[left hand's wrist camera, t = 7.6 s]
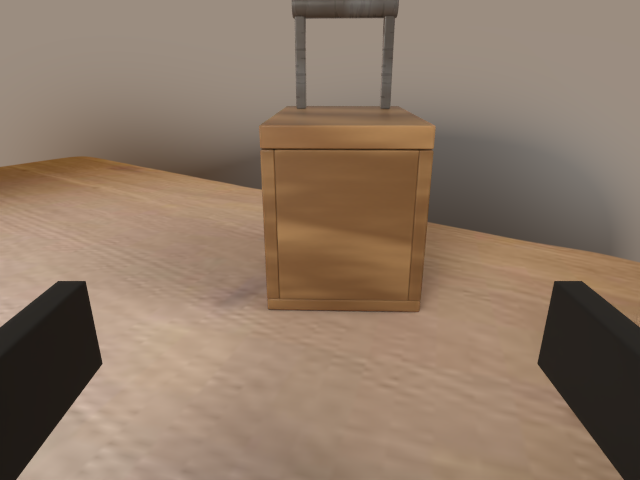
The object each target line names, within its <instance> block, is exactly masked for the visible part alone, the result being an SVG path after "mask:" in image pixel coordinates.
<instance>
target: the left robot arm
mask: <svg viewBox="0 0 640 480" xmlns="http://www.w3.org/2000/svg"><path fill="white" fill-rule="evenodd" d="M101 365H102V359H101V354H100V349H99V345H98V340H97V335H96V330H95V325H94V320H93V315H92V310H91V306H90V301H89V296H88V291H87V286H86V281H58V282H57V283H55V284H54V285H53V286H52V287H50V288H49V289H48V290H47V291H45V292H44V293H43V294H42V295H40V296H39V297H38V298H37V299H35V300H34V301H33V302H32V303H30V304H29V305H28V306H27V307H25V308H24V309H23V310H21V311H20V312H19V313H18V314H16V315H15V316H14V317H13V318H11V319H10V320H9V321H8V322H6V323H5V324H4V325H3V326H1V327H0V480H16V479H17V478H18V476H19V475H20V474H21V472H22V471H23V470H24V468H25V467H26V466H27V464H28V463H29V462H30V460H31V459H32V458H33V456H34V455H35V454H36V452H37V451H38V450H39V448H40V447H41V446H42V444H43V443H44V442H45V440H46V439H47V437H48V436H49V435H50V433H51V432H52V431H53V429H54V428H55V427H56V425H57V424H58V423H59V421H60V420H61V419H62V417H63V416H64V415H65V413H66V412H67V411H68V409H69V408H70V407H71V405H72V404H73V403H74V401H75V400H76V399H77V397H78V396H79V395H80V393H81V392H82V391H83V389H84V388H85V386H86V385H87V384H88V382H89V381H90V380H91V378H92V377H93V376H94V374H95V373H96V372H97V370H98V369H99V368H100V366H101ZM538 365H539V366H540V368H541V369H542V370H543V372H544V373H545V374H546V376H547V377H548V378H549V380H550V381H551V382H552V384H553V385H554V387H555V388H556V389H557V391H558V392H559V393H560V395H561V396H562V397H563V399H564V400H565V401H566V403H567V404H568V405H569V407H570V408H571V409H572V411H573V412H574V413H575V415H576V416H577V417H578V419H579V420H580V421H581V423H582V424H583V425H584V427H585V428H586V429H587V431H588V432H589V433H590V435H591V436H592V437H593V439H594V440H595V442H596V443H597V444H598V446H599V447H600V448H601V450H602V451H603V452H604V454H605V455H606V456H607V458H608V459H609V460H610V462H611V463H612V464H613V466H614V467H615V468H616V470H617V471H618V472H619V474H620V475H621V476H622V478H623V479H624V480H640V327H639V326H637V325H636V324H635V323H634V322H632V321H631V320H630V319H629V318H627V317H626V316H625V315H624V314H622V313H621V312H620V311H618V310H617V309H616V308H615V307H613V306H612V305H611V304H610V303H608V302H607V301H606V300H605V299H603V298H602V297H601V296H600V295H598V294H597V293H596V292H595V291H593V290H592V289H591V288H590V287H588V286H587V285H586V284H585V283H583V282H582V281H554V286H553V291H552V296H551V301H550V306H549V310H548V315H547V320H546V325H545V330H544V335H543V340H542V345H541V349H540V354H539V359H538Z"/></svg>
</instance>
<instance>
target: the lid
mask: <svg viewBox="0 0 640 480" xmlns="http://www.w3.org/2000/svg"><path fill="white" fill-rule="evenodd" d="M398 6H399V0H292V15H293V18H294V19H295V53H296V106H287V107H285V108H284V109H282V110H281V111H280V112H278V113H277V114H275V115H274V116H272V117H271V118H270V119H268V120H267V121H265V122H264V123H262V124H261V125H260V126H259V132H260V147H261V148H262V149H433V148H434V139H435V128H436V127H435V126H434V125H432V124H431V123H429V122H427V121H425V120H423V119H421V118H419V117H417V116H415V115H414V114H412V113H410V112H408V111H406V110H404V109H402V108H400V107H398V106H390V101H391V81H392V63H393V43H394V25H395V18H396V17H397V14H398ZM305 18H384V27H383V49H382V72H381V95H380V106H306V30H305V29H306V28H305Z"/></svg>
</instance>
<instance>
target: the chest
mask: <svg viewBox="0 0 640 480" xmlns="http://www.w3.org/2000/svg"><path fill="white" fill-rule="evenodd" d="M260 154H261V174H262V196H263V217H264V238H265V259H266V281H267V298H268V299H267V301H268V309H279V310H346V311H413V312H418V311H419V310H420V299H421V288H422V276H423V265H424V253H425V242H426V231H427V219H428V208H429V196H430V185H431V173H432V162H433V150H431V149H261V151H260Z"/></svg>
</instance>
